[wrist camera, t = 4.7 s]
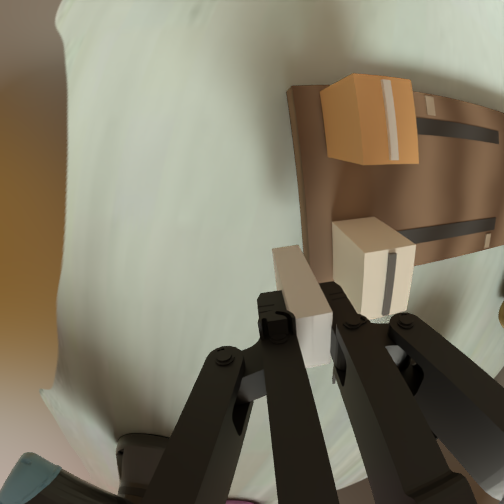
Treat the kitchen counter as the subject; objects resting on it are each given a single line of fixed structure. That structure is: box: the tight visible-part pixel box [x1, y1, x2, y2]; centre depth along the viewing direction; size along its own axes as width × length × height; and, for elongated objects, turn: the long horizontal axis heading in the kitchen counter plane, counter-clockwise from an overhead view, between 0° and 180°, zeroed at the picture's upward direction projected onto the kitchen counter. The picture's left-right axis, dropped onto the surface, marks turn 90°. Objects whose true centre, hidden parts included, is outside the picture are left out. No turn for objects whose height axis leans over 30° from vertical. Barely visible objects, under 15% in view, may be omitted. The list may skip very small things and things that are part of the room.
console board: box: [286, 85, 504, 283], centre depth 17 cm, size 24×13×2 cm, turn 98°
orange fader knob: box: [320, 73, 419, 165], centre depth 12 cm, size 3×4×5 cm
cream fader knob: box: [332, 217, 416, 320], centre depth 15 cm, size 3×4×5 cm
